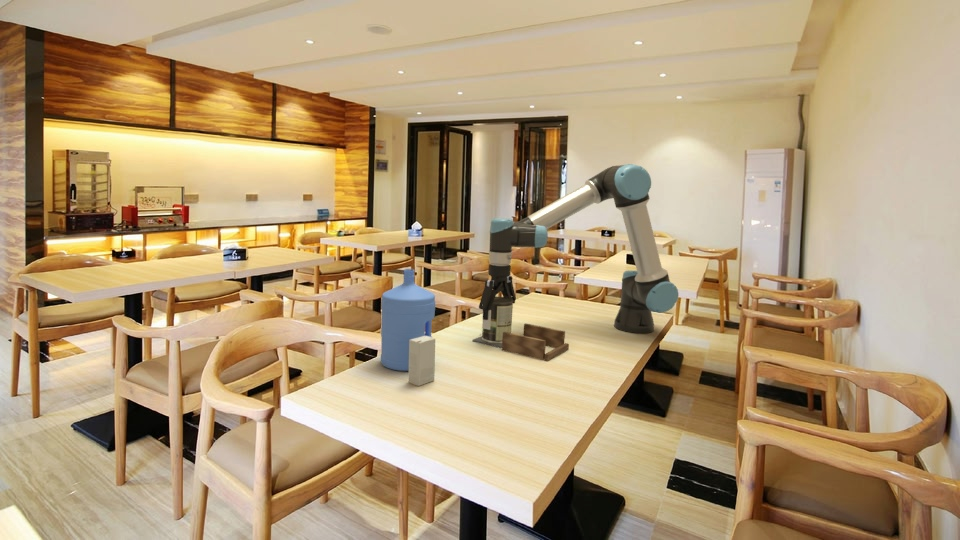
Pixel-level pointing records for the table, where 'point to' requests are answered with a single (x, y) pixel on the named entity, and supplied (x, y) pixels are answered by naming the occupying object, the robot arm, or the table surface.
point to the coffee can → (499, 320)
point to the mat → (479, 340)
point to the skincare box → (421, 360)
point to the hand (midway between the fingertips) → (497, 325)
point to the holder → (535, 342)
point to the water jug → (404, 320)
